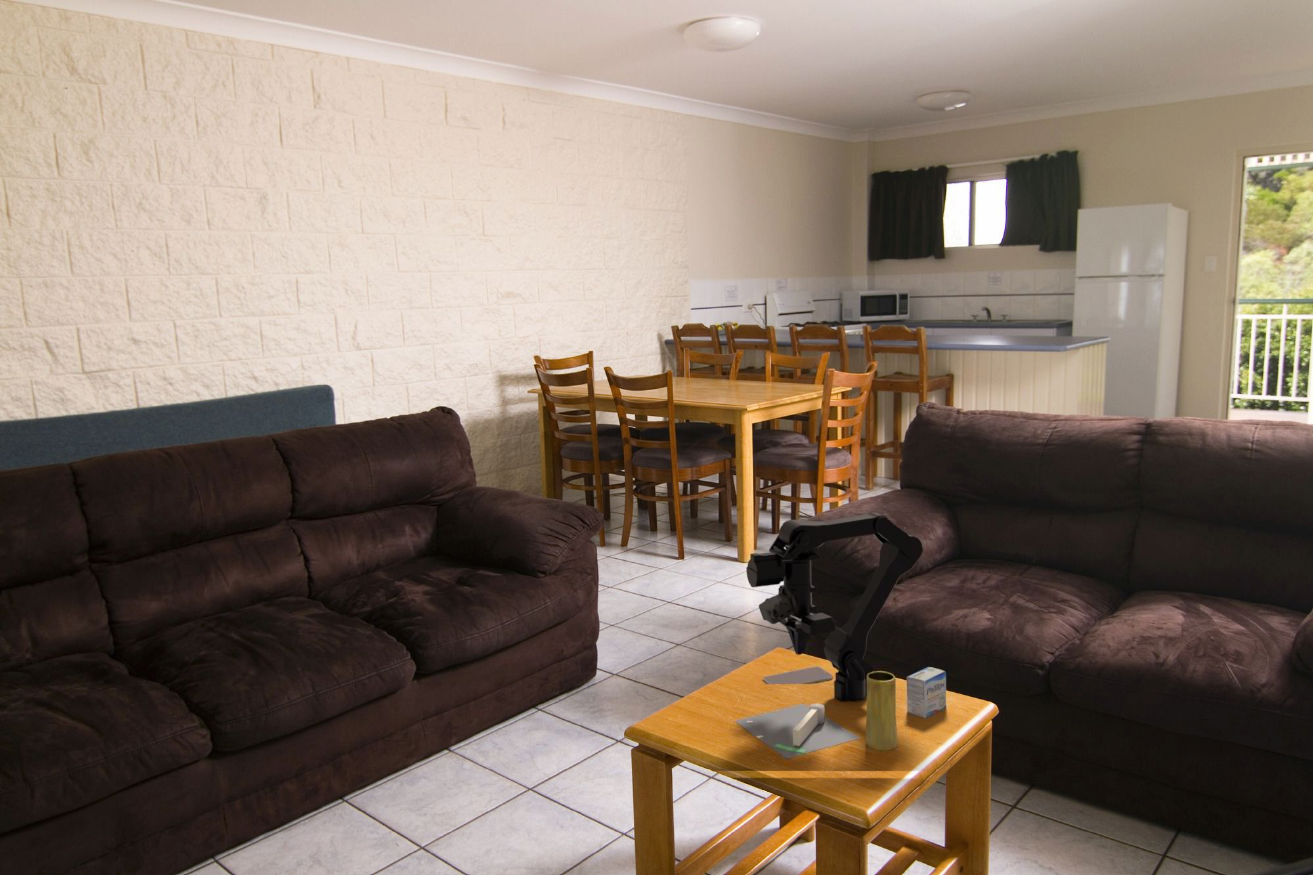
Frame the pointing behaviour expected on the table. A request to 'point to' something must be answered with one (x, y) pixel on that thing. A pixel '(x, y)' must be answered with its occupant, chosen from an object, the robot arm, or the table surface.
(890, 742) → the vase
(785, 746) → the dial plate
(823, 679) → the smartphone
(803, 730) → the lever
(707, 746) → the table surface
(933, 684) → the medicine box
